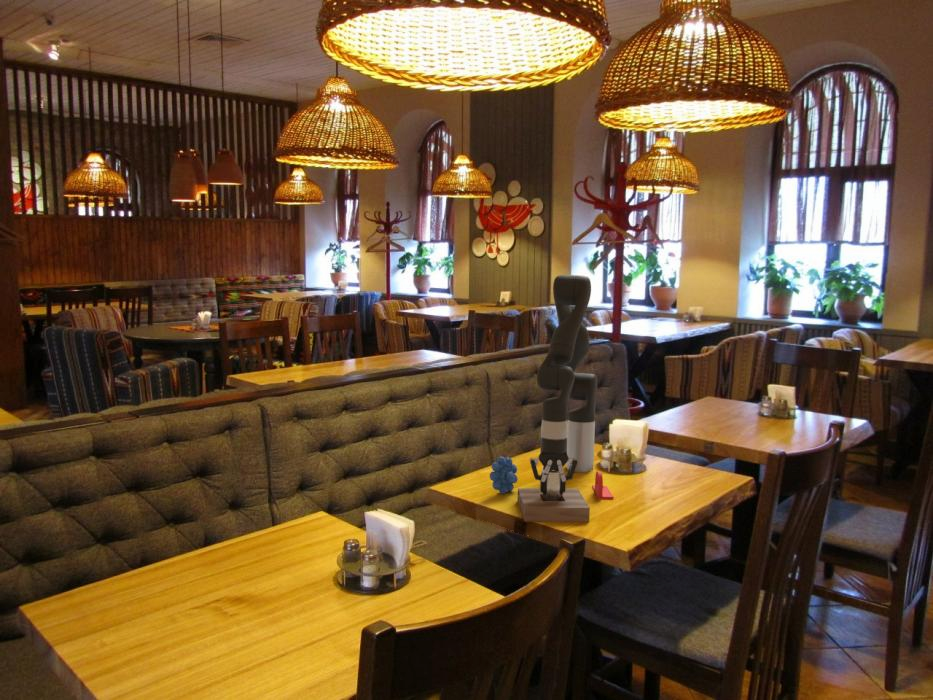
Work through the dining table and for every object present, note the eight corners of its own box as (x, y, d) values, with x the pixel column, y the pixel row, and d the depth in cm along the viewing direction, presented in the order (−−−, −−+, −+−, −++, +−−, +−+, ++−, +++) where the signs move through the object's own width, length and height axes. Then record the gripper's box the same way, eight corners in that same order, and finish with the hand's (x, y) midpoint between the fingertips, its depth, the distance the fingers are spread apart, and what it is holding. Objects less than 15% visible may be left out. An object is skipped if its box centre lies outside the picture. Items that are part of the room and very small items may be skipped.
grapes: (500, 500, 231) (501, 461, 230) (484, 495, 236) (485, 457, 235) (526, 493, 239) (527, 455, 238) (510, 488, 244) (511, 451, 243)
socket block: (517, 501, 231) (517, 488, 231) (577, 501, 232) (577, 488, 231) (524, 521, 213) (524, 507, 213) (589, 521, 214) (589, 507, 213)
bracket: (613, 500, 234) (614, 475, 233) (598, 500, 234) (599, 474, 233) (606, 488, 246) (607, 464, 245) (591, 488, 246) (592, 464, 245)
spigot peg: (543, 502, 224) (544, 468, 223) (558, 502, 225) (559, 468, 223) (545, 507, 220) (546, 473, 219) (561, 507, 220) (562, 473, 219)
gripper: (576, 432, 224) (574, 489, 226) (527, 432, 223) (526, 489, 225) (581, 438, 216) (579, 497, 218) (530, 438, 216) (529, 497, 218)
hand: (552, 493), depth 222 cm, fingers closed on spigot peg, 4 cm apart
